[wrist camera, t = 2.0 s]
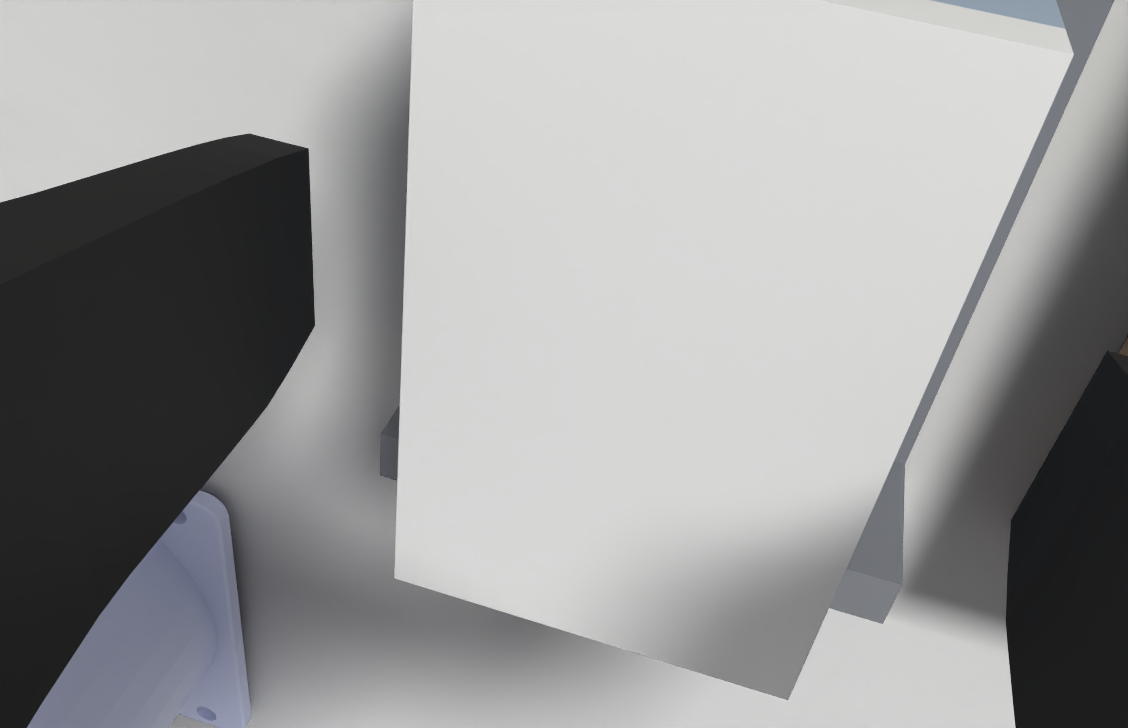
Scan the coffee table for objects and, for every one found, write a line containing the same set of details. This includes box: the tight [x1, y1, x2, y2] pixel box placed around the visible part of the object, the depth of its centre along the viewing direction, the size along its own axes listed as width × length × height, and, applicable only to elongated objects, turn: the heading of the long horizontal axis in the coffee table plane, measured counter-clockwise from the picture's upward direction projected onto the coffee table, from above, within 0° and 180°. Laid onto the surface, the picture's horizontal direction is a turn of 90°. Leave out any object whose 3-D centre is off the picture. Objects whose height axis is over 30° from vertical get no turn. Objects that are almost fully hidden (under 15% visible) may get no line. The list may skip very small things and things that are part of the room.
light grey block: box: [394, 0, 1074, 700], centre depth 11 cm, size 4×7×6 cm, turn 172°
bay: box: [380, 0, 1114, 624], centre depth 12 cm, size 7×10×3 cm
